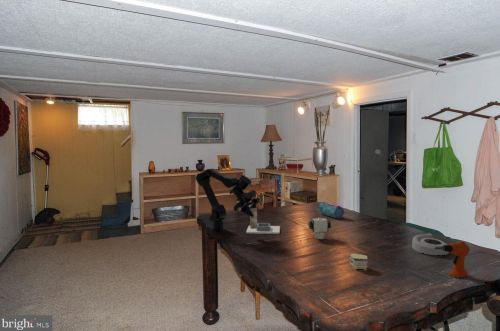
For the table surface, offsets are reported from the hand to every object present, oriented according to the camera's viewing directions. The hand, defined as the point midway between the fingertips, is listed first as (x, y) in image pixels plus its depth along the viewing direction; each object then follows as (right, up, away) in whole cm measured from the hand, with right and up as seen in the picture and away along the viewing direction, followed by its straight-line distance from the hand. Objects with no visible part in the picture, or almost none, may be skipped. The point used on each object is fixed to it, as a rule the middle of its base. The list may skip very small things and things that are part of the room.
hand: (255, 215), depth 180 cm
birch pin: (-1, -7, +1) cm, 7 cm away
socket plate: (+5, -12, +17) cm, 21 cm away
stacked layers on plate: (+44, -16, -43) cm, 63 cm away
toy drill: (+77, -16, -54) cm, 95 cm away
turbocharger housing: (+86, -14, -23) cm, 90 cm away
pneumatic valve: (+36, -13, -1) cm, 38 cm away
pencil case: (+56, -9, +51) cm, 76 cm away
